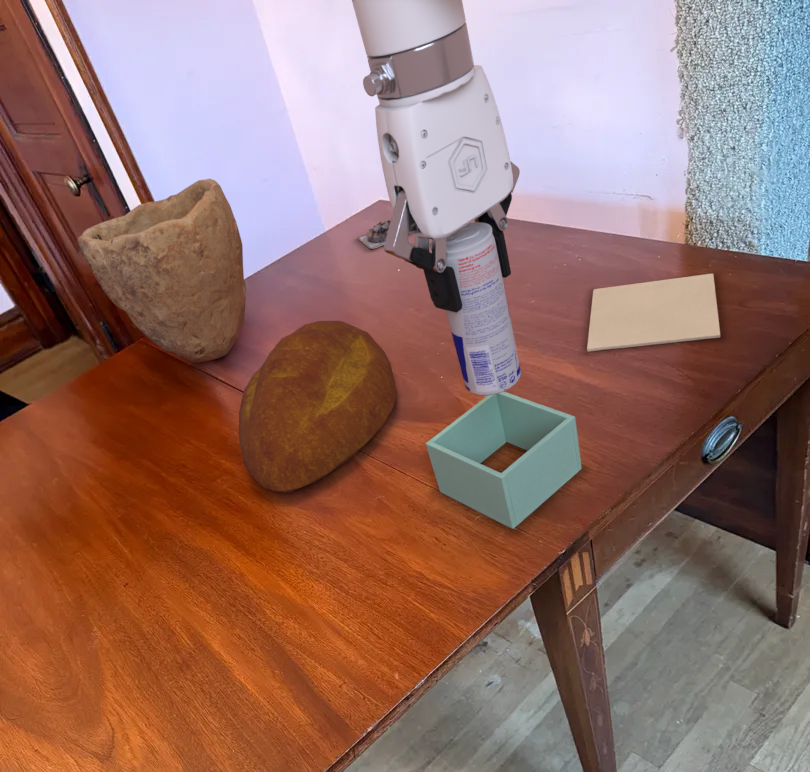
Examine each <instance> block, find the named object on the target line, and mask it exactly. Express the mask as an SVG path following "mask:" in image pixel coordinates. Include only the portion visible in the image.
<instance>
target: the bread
mask: <svg viewBox="0 0 810 772" xmlns="http://www.w3.org/2000/svg"><path fill="white" fill-rule="evenodd" d="M397 393H398V392H397V386H396V380H395V376H394V372H393V368H392V364H391V361H390V359H389V358H388V356H387V353H386V352H385V351H384V350H383V348H382V347H381V346H380V345H379V344H378V342H377V341H376V340H375V339H374V338H373V336H372V335H371V334H370V333H369V332H368V331H365V330H363V329H361V328H359V327H356V326H354V325H352V324H350V323H348V322H345V321H342V320H316V321H314V322H313V321H312V322H310V323H306V324H303V325H302V326H300V327H299V328H297V329H296V330H294V331H293V332H292V333H290V334H287V335H286V336H284V337H282V338H280V340H279V341H278V342H277V343H276V344H275V346H274V347H273V348H272V349H271V351H270V352H269V354H268V355H267V357H266V358H265V360H264V362H263V363H262V365H261V366H260V367H259V368H258V369H257V370H256V371H255V372H254V373H253V374H252V376H251V377H250V379H249V381H248V382H247V384H246V386H245V388H244V389H243V392H242V397H241V403H240V406H239V410H238V443H239V447H240V452H241V456H242V460H243V464H244V465H245V467H246V470H248V472H249V473H250V475H251V477H252V478H253V479H254V480H255V481H256V482H257V483H258V484H259V485H260V486H261V487H262V488H263V489H266V490H270V491H273V492H278V493H283V494H291V493H293V492H295V491H297V490H299V489H301V488H303V487H307V486H309V485H313V484H314V483H316V482H318V481H320V480H322V479H323V478H325V477H327V476H328V475H330V474H332V473H333V472H335V471H336V470H337V469H339V468H340V467H342V466H343V465H345V464H346V463H348V462H349V461H350V460H351V459H352V458H353V457H354V456H355V455H356V454H357V453H358V452H359V451H360V450H361V449H362V448H363V447H365V446H366V444H367V443H368V442H370V440H371V439H372V438H374V437H375V436H376V435H377V433H378V432H379V431H380V430H381V429H382V428H383V427H384V426H385V424H386V423H387V422H388V419H389V417H390V415H391V413H392V411H393V409H394V407H395V405H396V397H397Z"/></svg>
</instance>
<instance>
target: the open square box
mask: <svg viewBox="0 0 810 772" xmlns="http://www.w3.org/2000/svg"><path fill="white" fill-rule="evenodd" d="M506 443H508V444H510V445H513V446H515V447H517V448H520V449H522V450H524V451H526V452H525V453H523V454H522V455H521V456H520V457H518V458H517V459H516V460H515V461H514V462H512V463H511V464H510V465H509V466H508V467H507V468H506V469H504V470H503V471H502V472H499V471H498V470H496V469H493V468H490V467H488V466H487V465H484V464H482V463H483V462H484V461H485V460H486V459H488V458H489V457H490V456H491V455H493V454H494V453H495V452H496V451H497V450H499V449H500V448H501V447H503V446H504V445H505V444H506ZM425 447H426V451H427V452H428V453H427V454H428V457H429V461H430V463H431V466H432V469H433V473H434V477H435V480H436V484H437V487H438V490H439V492H440V493H441V494H443V495H445V496H447V497H449V498H451V499H452V500H455V501H457V502H459V503H461V504H463V505H465V506H466V507H469V508H470V509H473V510H474V511H476V512H478V513H480V514H482V515H484V516H486V517H488V518H490V519H492V520H494V521H496V522H498V523H499V524H502V525H504V526H505V527H507V528H510V529H512V530H514V529H515V528H516V527H518V526H519V525H520V524H521V523H522V522H523V521H524V520H525V519H527V518H528V517H529V516H530V515H531V514H532V513H533V512H535V511H536V510H537V509H538V508H539V507H540V506H542V505H543V503H545V502H546V501H547V500H549V498H550V497H551V496H553V495H554V494H555V493H556V492H558V490H560V489H561V488H562V487H563V486H564V485H565V484H566V483H567V482H569V481H570V480H571V479H572V478H573V477H574V476H575V475H577V474H578V473H579V472H580V471H581V470H582V460H581V452H580V451H581V450H580V444H579V437H578V429H577V421H576V416H574V415H571V414H569V413H566V412H563V411H561V410H557V409H555V408H552V407H550V406H546V405H543V404H541V403H538V402H536V401H532V400H529V399H526V398H524V397H521V396H518V395H515V394H512V393H510V392H507V391H503V392H501V393H498V394H494V395H485V397H483V398H482V399H481V400H480V401H478V402H477V403H476V404H475V405H473V406H472V407H471V408H469V409H468V410H467V411H465V412H464V413H462V415H460V416H459V417H458V418H457V419H455V420H454V421H452V422H451V423H450V424H449V425H447V426H446V427H444V429H442V430H441V431H439V433H437V434H436V435H434V436H433V437H432V438H430V440H428V441H426V442H425Z"/></svg>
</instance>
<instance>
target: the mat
mask: <svg viewBox="0 0 810 772" xmlns="http://www.w3.org/2000/svg"><path fill="white" fill-rule="evenodd" d="M719 320H720V318H719V310H718V303H717V294H716V285H715V276H714V273H713V272H712V273H706V274H705V273H704V274H697V275H691V276H684V277H683V276H682V277H675V278H667V279H660V280H653V281H646V282H637V283H631V284H624V285H616V286H608V287H607V286H606V287H601V288H593V290H592V299H591V307H590V317H589V326H588V336H587V346H586V352H588V353H589V352H595V351H597V352H598V351H605V350H606V351H607V350H614V349H615V350H616V349H625V348H633V347H634V348H635V347H643V346H652V345H653V346H654V345H662V344H664V345H665V344H673V343H681V342H683V343H684V342H692V341H700V340H711V339H720V338H721V329H720V328H721V327H720V321H719Z"/></svg>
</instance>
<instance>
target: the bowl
mask: <svg viewBox="0 0 810 772" xmlns="http://www.w3.org/2000/svg"><path fill="white" fill-rule="evenodd" d="M77 244H78V246H79V248H80V251H81V253H82V256H83V257H84V259H85V260H86V263H87V265H88V266H89V268H90V269H91V271H92V273H93V275H94V277H95V279H96V281H97V282H98V284H99V286H100V287H101V289H102V290H103V292H104V294H105V295H106V296H107V298H108V299H109V300H110V301H111V302H112V303H113V304H114V305H115V306H116V307H117V308H118V309H120V310H122V311H124V312H125V313H126V314H127V316H128V318H129V319H130V320H131V322H132V323H133V325H135V326H136V327H137V329H138V330H139V331H140V332H141V333H142V334H143V335H144V336H145V337H146V338H147V339H148V340H149V341H151V342H152V343H154V344H155V345H156V346H158V347H159V348H161V349H163V350H164V351H166V352H170V353H174V354H175V355H176V356H177V357H179V358H183V359H186V360H188V361H190V362H193V363H195V364H196V363H197V364H198V363H205V362H210V361H213V360H217V359H220V358H222V357H225V356H226V355H228V354H229V353H230V352H231V349H232V348H233V347H234V345H235V344H236V342H237V340H238V337H239V334H240V332H241V330H242V327H243V325H244V324H245V318H246V317H245V316H246V315H245V314H246V307H247V296H246V293H247V285H246V281H245V277H244V276H245V274H244V252H243V241H242V238H241V234H240V231H239V227H238V223H237V220H236V218H235V215H234V212H233V210H232V207H231V204H230V203H229V200H228V198H227V197H226V194H225V192H224V191H223V188H222V187H221V184H219V183H218V182H217V181H216V180H215V179H212V178H207V179H206V178H205V179H199V180H197V181H195V182H193V183H192V184H190V185H188V186H187V187H185V188H183V189H182V190H181V191H179V192H177V193H176V194H173V195H169V196H168V197H166V198H164V199H160V200H154V201H153V200H152V201H147V202H144V203H141V204H138V205H137V206H135V207H134V208H132V209H131V210H129V212H127V213H126V214H125V215H122V216H118V217H115V218H112V219H109V220H105V221H103V222H100V223H98V224H95V225H92V226H90V227H88V228H87V229H85V230H83V232H82V234H81V235H80V236H78V237H77Z"/></svg>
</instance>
